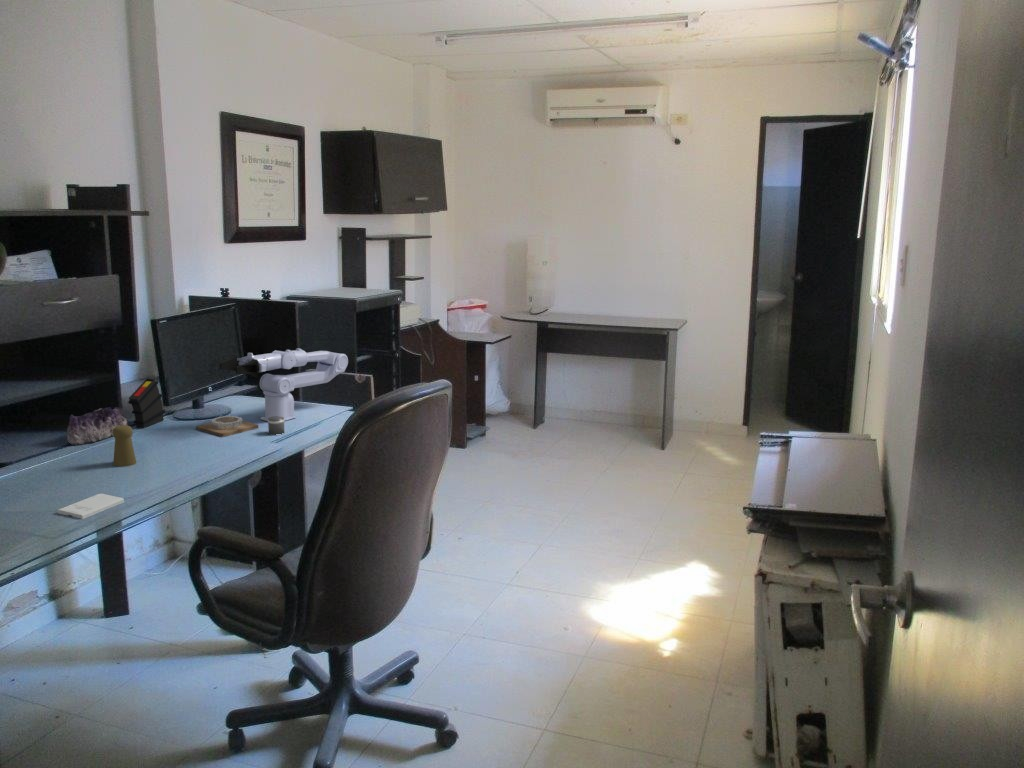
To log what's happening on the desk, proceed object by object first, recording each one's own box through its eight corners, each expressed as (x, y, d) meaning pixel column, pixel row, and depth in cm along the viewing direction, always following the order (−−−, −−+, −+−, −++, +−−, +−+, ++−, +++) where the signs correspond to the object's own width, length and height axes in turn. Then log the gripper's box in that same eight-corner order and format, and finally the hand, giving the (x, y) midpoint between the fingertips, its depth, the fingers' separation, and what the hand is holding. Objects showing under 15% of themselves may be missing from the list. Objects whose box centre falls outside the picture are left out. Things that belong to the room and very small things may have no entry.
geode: (91, 448, 248) (84, 416, 246) (59, 449, 251) (52, 418, 249) (136, 428, 267) (129, 399, 265) (106, 430, 270) (99, 400, 268)
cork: (114, 460, 237) (111, 424, 235) (137, 459, 239) (134, 422, 237) (112, 467, 232) (109, 429, 229) (135, 465, 234) (133, 428, 231)
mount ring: (230, 420, 279) (229, 414, 279) (248, 425, 274) (247, 419, 274) (206, 425, 271) (205, 420, 271) (224, 431, 266) (224, 425, 266)
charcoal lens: (277, 430, 273) (277, 415, 272) (287, 432, 271) (287, 418, 270) (265, 433, 269) (264, 418, 268) (275, 436, 267) (275, 421, 265)
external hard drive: (124, 504, 207) (82, 521, 195) (99, 498, 210) (57, 515, 198) (124, 498, 206) (82, 514, 195) (99, 492, 209) (56, 508, 198)
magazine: (170, 413, 283) (156, 378, 273) (149, 438, 272) (133, 403, 263) (160, 412, 283) (146, 377, 274) (139, 437, 273) (123, 402, 264)
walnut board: (231, 420, 282) (231, 417, 282) (258, 427, 275) (258, 425, 275) (195, 429, 271) (195, 426, 271) (223, 436, 264) (222, 433, 263)
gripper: (246, 348, 279) (213, 352, 268) (276, 354, 272) (243, 359, 261) (246, 368, 281) (213, 373, 270) (276, 375, 274) (243, 381, 262)
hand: (228, 368), depth 265 cm, fingers open, 7 cm apart
